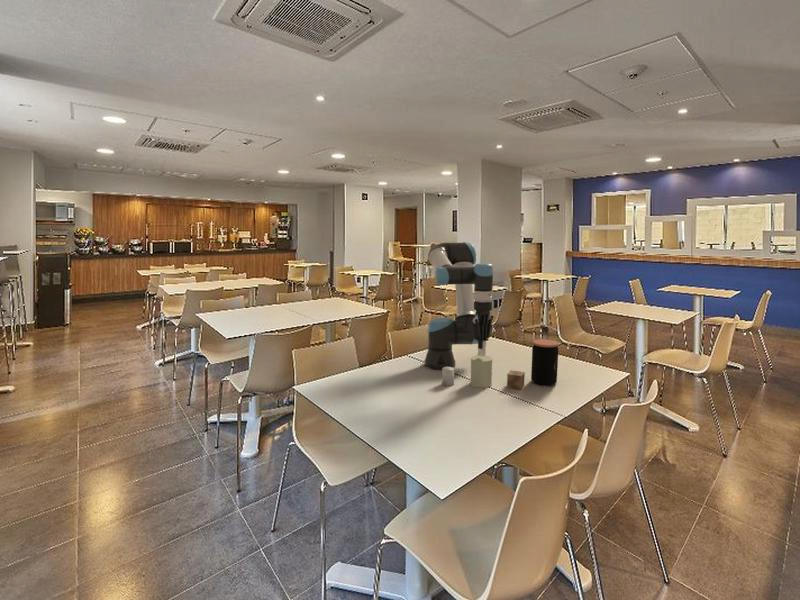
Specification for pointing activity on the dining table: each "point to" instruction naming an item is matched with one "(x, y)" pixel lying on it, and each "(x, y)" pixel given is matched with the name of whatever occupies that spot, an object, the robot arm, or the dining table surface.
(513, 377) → the walnut block
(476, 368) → the can
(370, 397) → the dining table surface
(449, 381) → the grey cylinder
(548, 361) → the coffee jar
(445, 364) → the robot arm
